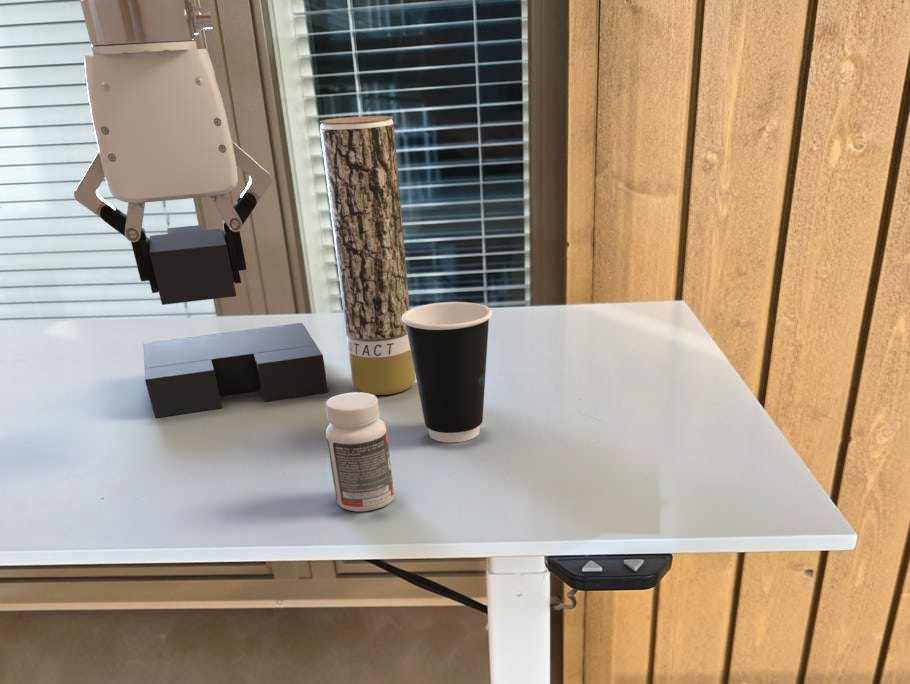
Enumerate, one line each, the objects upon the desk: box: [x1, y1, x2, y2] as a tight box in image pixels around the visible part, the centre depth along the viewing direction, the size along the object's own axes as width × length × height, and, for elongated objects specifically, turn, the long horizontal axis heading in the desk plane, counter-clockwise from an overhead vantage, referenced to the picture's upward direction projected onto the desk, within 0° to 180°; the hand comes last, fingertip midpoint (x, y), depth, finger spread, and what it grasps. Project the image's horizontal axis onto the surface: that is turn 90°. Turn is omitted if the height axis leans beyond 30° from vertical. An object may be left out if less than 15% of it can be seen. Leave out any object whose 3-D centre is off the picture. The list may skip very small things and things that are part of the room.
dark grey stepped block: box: [149, 224, 237, 306], centre depth 76 cm, size 6×11×4 cm, turn 17°
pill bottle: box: [325, 391, 395, 513], centre depth 70 cm, size 5×5×8 cm
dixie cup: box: [402, 301, 493, 444], centre depth 81 cm, size 8×8×11 cm
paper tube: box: [319, 115, 416, 396], centre depth 88 cm, size 7×7×25 cm
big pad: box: [142, 322, 329, 419], centre depth 97 cm, size 18×14×4 cm
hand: (196, 282), depth 76 cm, fingers closed on dark grey stepped block, 6 cm apart
